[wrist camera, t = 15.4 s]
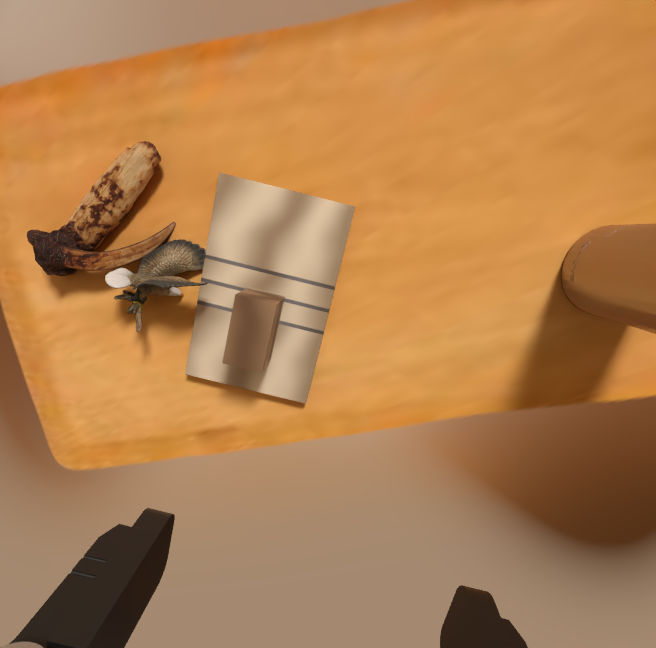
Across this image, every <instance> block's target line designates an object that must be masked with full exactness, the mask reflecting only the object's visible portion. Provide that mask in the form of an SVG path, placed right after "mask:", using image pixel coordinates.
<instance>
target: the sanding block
mask: <svg viewBox="0 0 656 648" xmlns="http://www.w3.org/2000/svg"><path fill="white" fill-rule="evenodd" d="M284 299H285V296H281V295H277V294H273V293H269V292H265V291H261V290H257V289H253V288H249V287H248V288H246V289H244V290H243V291H241V292H239V293H237V294H235V299H234V304H233V309H232V315H231V320H230V325H229V330H228V335H227V341H226V346H225V351H224V356H223V361H222V363H223V364H227V365H231V366H235V367H239V368H243V369H248V370H252V371H256V372H260V373H262V372H263V371H264V369H265V367H266V366H267V364H268V362H269V361H270V359H271V357H272V353H273V348H274V344H275V339H276V335H277V330H278V326H279V321H280V317H281V312H282V308H283V303H284Z"/></svg>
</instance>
